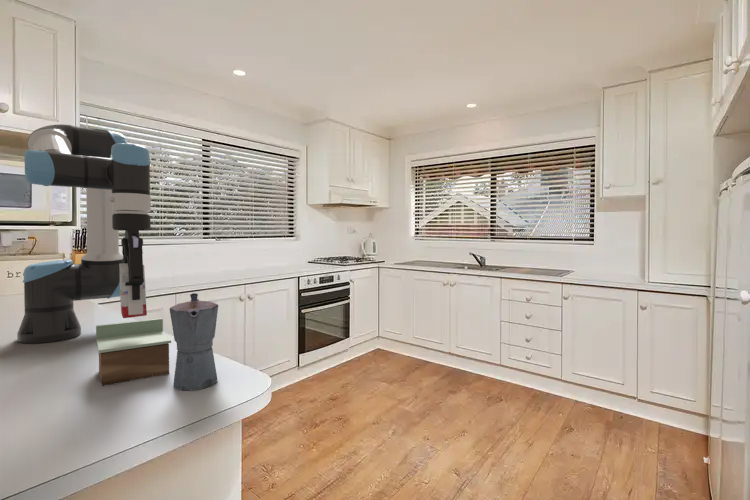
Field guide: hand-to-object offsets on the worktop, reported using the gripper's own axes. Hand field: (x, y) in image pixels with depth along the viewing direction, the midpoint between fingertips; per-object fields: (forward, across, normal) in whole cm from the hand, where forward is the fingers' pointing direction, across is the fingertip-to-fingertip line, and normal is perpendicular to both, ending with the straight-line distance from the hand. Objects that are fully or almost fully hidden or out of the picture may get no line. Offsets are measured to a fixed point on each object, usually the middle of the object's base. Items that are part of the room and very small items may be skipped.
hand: (133, 310), depth 92 cm
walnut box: (+15, 0, 0) cm, 15 cm away
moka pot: (+15, +14, +10) cm, 23 cm away
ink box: (+1, 0, 0) cm, 1 cm away
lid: (+7, 0, 0) cm, 7 cm away
